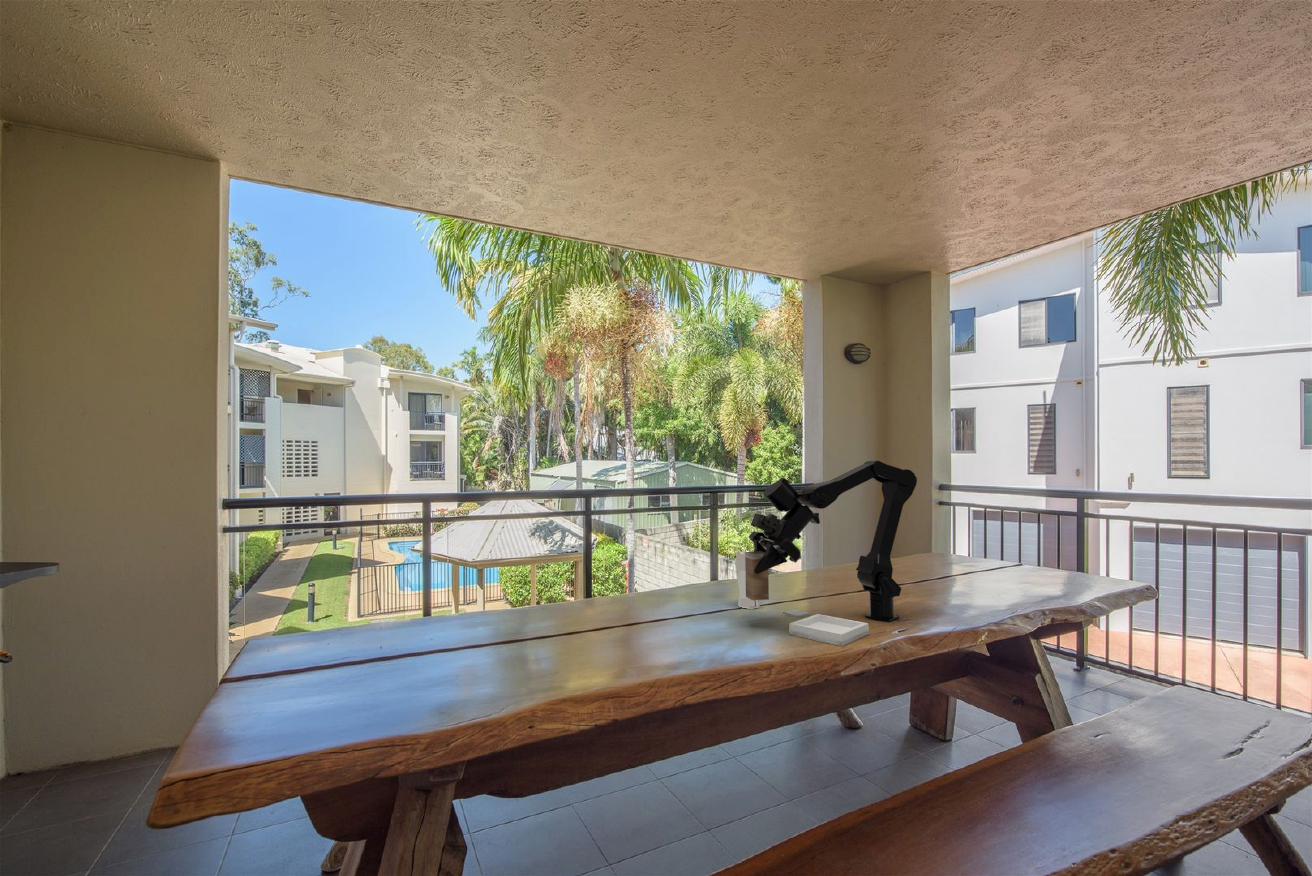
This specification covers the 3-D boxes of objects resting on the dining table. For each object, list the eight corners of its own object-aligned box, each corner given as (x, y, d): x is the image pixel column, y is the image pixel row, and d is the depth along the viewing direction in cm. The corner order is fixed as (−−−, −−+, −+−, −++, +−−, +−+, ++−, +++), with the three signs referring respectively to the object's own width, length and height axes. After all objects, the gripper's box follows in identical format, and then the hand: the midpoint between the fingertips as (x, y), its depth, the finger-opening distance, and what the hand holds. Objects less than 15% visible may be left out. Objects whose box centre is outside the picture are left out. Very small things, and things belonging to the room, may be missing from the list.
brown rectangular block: (761, 595, 143) (761, 551, 144) (769, 599, 139) (768, 553, 139) (745, 596, 142) (744, 551, 142) (752, 600, 137) (751, 554, 138)
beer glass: (760, 604, 164) (759, 551, 165) (762, 609, 157) (761, 554, 158) (735, 603, 165) (735, 551, 166) (736, 609, 158) (736, 554, 159)
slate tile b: (795, 612, 155) (795, 609, 155) (810, 616, 151) (810, 613, 151) (782, 614, 152) (782, 611, 152) (797, 618, 148) (797, 615, 148)
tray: (817, 624, 142) (817, 613, 142) (868, 634, 133) (868, 623, 133) (789, 634, 133) (789, 623, 133) (841, 646, 124) (841, 634, 124)
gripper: (755, 500, 152) (716, 544, 148) (787, 503, 134) (744, 553, 130) (782, 529, 153) (744, 573, 150) (819, 536, 135) (776, 586, 132)
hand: (751, 571), depth 140 cm, fingers closed on brown rectangular block, 4 cm apart
